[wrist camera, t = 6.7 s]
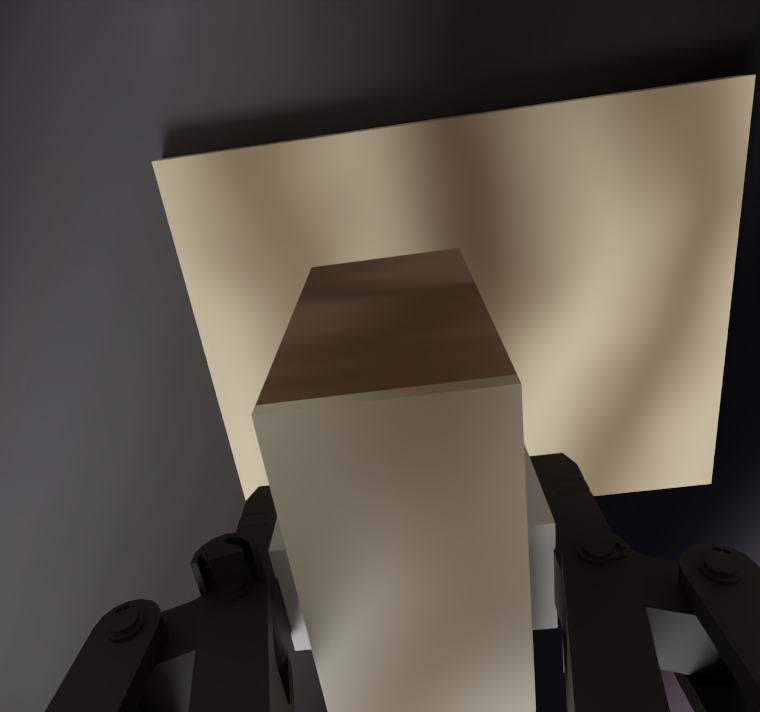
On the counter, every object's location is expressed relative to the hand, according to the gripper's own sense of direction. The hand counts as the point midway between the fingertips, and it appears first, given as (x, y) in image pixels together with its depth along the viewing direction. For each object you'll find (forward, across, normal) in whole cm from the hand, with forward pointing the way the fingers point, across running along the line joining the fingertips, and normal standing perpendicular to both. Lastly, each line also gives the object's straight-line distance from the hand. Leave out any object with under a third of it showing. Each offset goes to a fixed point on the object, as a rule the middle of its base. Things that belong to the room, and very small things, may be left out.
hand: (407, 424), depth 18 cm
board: (+7, -2, 0) cm, 7 cm away
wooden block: (0, 0, 0) cm, 0 cm away
